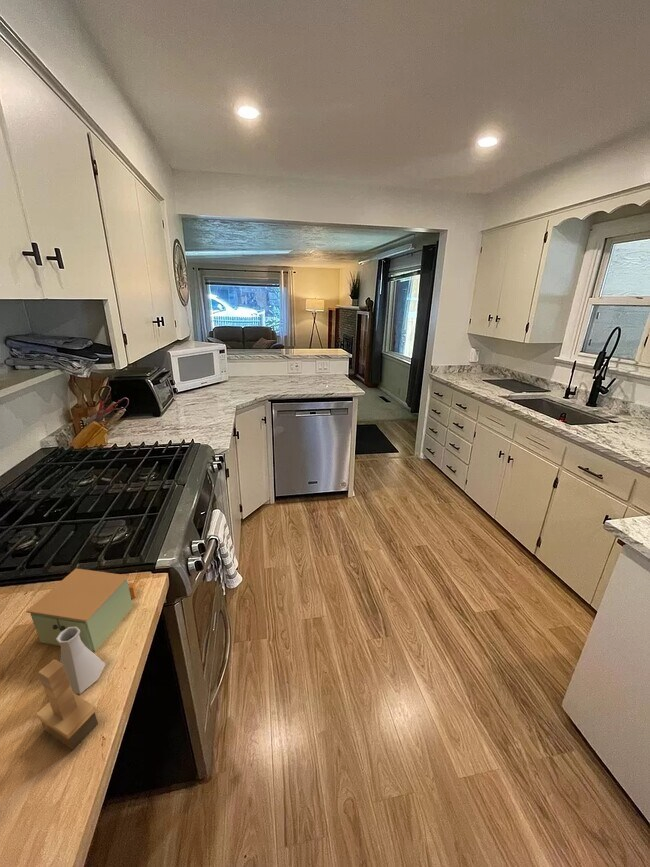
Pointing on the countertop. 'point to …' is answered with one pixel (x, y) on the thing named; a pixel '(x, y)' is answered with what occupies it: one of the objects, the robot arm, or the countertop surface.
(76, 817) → the countertop surface
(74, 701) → the brush
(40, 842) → the countertop surface
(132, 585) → the block
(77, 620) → the cabinet
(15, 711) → the countertop surface
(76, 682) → the flask
